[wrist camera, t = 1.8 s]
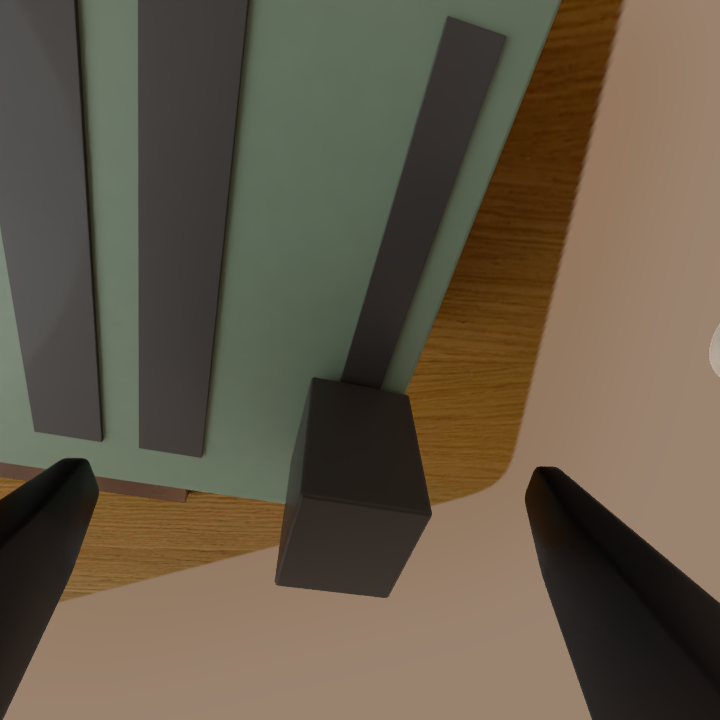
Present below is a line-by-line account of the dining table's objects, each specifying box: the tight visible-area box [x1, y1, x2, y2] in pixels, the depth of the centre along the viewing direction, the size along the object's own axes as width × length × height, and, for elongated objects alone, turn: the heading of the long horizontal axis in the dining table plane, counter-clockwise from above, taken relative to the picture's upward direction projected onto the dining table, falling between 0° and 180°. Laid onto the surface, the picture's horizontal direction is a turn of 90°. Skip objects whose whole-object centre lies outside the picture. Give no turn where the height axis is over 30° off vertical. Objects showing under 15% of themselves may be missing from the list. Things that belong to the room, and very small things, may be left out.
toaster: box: [0, 0, 562, 504], centre depth 14 cm, size 10×14×11 cm
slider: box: [275, 377, 432, 598], centre depth 10 cm, size 2×3×4 cm
